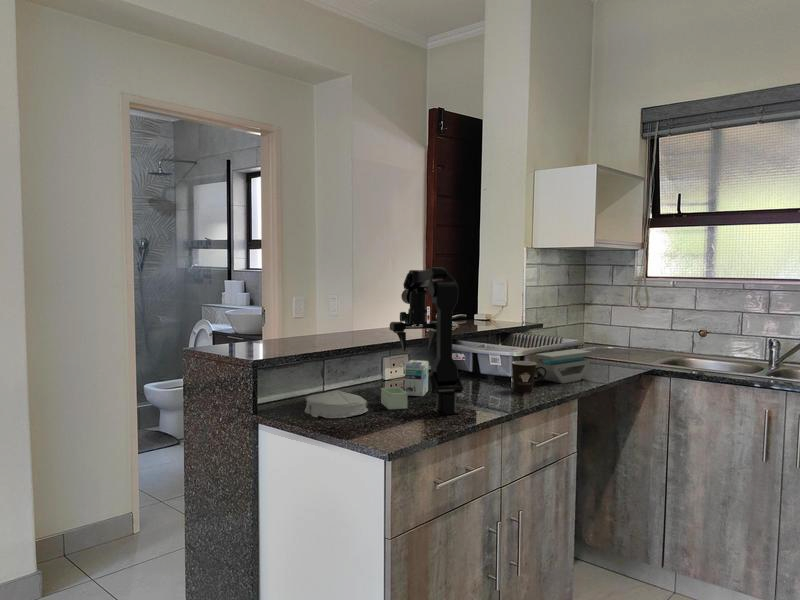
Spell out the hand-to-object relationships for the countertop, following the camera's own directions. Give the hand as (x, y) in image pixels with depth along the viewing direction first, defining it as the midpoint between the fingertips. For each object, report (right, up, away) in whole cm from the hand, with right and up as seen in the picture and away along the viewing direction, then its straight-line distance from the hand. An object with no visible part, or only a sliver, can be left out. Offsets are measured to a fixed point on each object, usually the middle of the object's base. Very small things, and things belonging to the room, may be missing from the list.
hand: (416, 350), depth 217 cm
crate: (-8, -16, -18) cm, 26 cm away
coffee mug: (+40, -15, +7) cm, 43 cm away
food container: (-25, -17, -26) cm, 40 cm away
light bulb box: (0, -15, +1) cm, 15 cm away
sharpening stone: (+58, -14, +28) cm, 66 cm away
